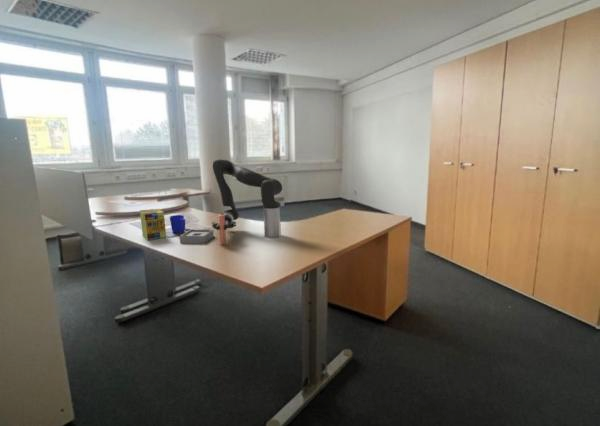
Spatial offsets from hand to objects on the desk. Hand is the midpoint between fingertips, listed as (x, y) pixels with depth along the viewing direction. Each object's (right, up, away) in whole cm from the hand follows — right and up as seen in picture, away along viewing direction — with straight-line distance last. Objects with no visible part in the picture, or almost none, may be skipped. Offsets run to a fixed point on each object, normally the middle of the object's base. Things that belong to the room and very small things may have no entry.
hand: (221, 228), depth 165 cm
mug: (-34, -4, +31) cm, 46 cm away
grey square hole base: (-17, -7, +14) cm, 24 cm away
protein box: (-46, -6, +22) cm, 52 cm away
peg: (0, -9, +5) cm, 10 cm away
